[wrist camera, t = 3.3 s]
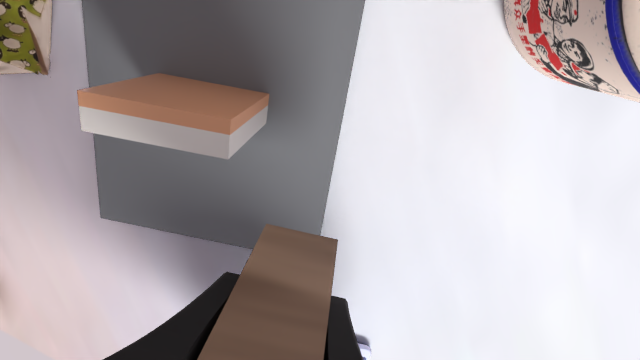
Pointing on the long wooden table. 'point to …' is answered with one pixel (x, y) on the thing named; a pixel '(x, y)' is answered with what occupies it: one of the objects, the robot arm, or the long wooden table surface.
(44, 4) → the bear figurine
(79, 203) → the long wooden table surface
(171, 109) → the tile
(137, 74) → the mat
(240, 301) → the tan wooden brick
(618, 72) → the teacup with lid
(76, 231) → the long wooden table surface
